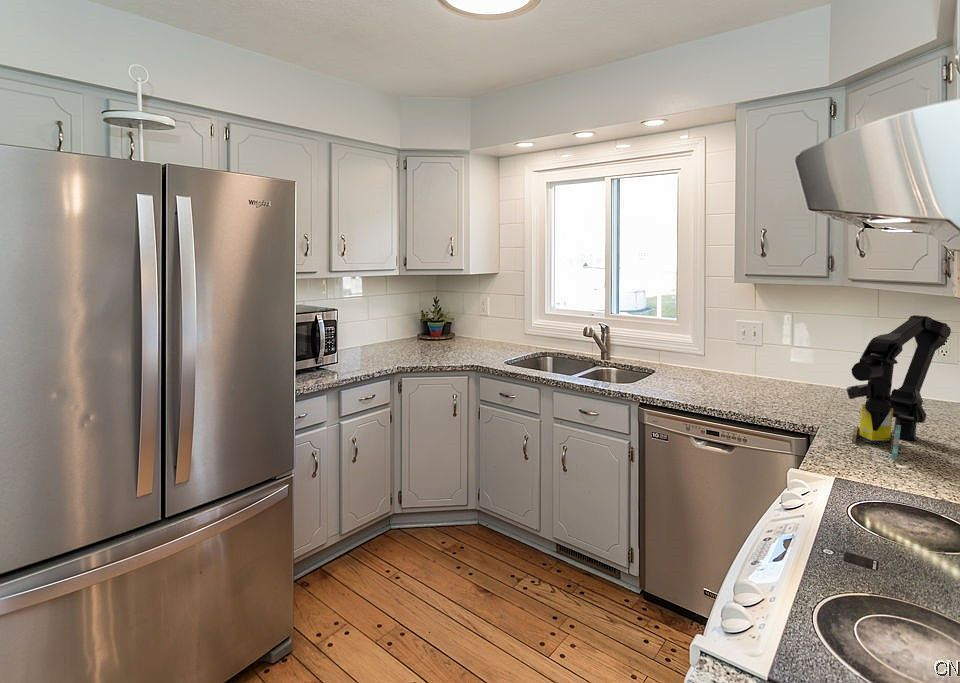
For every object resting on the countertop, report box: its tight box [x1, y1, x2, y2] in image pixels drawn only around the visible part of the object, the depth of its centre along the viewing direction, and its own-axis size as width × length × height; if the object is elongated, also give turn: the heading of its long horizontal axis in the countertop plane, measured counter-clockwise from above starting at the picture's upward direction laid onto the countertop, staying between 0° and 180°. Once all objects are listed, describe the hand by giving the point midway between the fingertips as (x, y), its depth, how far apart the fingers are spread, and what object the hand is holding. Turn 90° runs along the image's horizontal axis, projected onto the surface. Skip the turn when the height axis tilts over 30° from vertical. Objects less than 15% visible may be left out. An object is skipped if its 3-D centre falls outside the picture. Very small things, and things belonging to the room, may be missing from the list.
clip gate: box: [891, 425, 901, 461], centre depth 165 cm, size 1×10×8 cm, turn 143°
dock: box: [851, 426, 895, 451], centre depth 178 cm, size 10×11×3 cm
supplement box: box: [859, 403, 894, 444], centre depth 177 cm, size 6×6×11 cm
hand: (875, 427), depth 177 cm, fingers closed on supplement box, 8 cm apart
